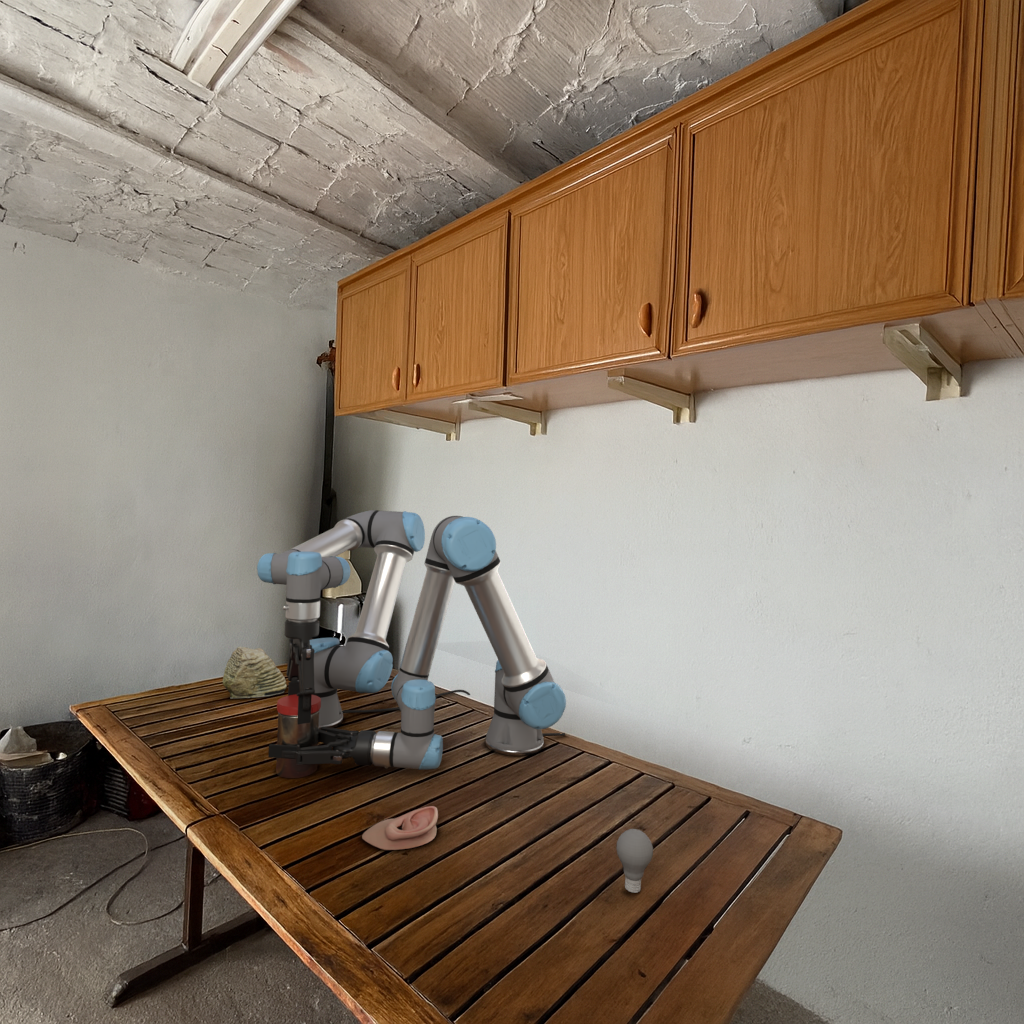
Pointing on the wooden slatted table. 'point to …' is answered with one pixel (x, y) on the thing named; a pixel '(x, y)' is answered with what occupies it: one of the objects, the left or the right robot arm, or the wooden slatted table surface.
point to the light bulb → (634, 857)
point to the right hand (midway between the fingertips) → (278, 742)
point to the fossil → (252, 674)
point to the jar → (296, 743)
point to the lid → (296, 705)
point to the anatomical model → (404, 830)
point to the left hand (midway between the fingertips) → (298, 715)
